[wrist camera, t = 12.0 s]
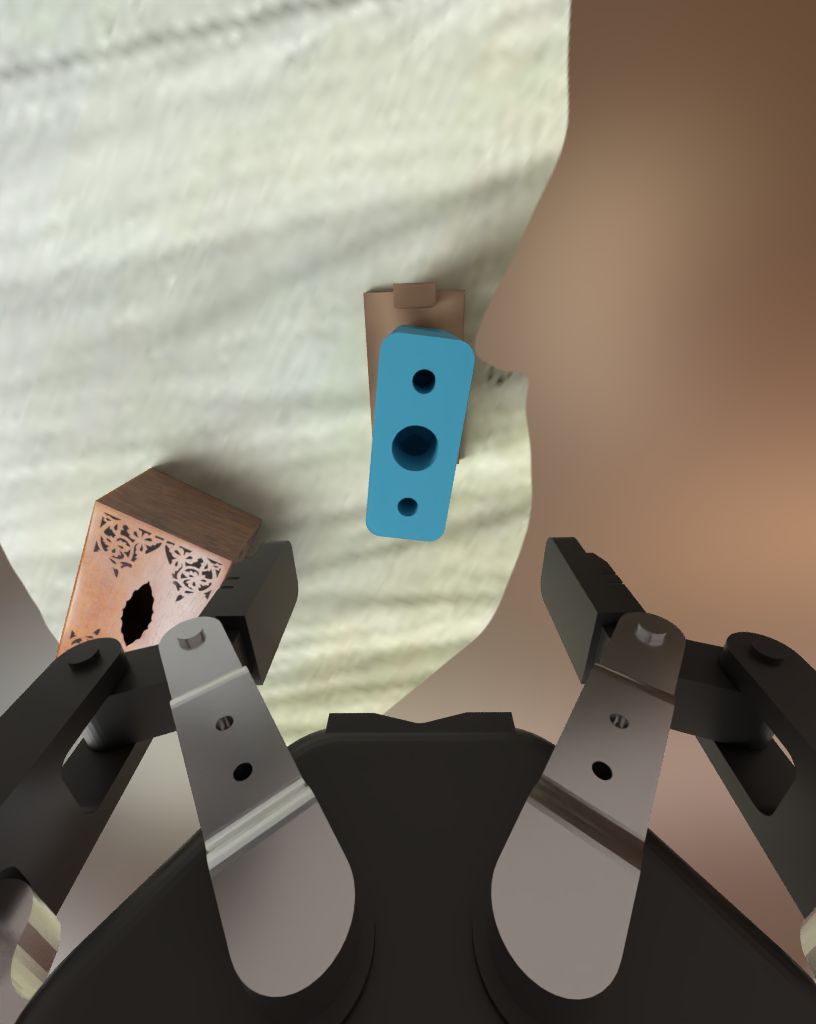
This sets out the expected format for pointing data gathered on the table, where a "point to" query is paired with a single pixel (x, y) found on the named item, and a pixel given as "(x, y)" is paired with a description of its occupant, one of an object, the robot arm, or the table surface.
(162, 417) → the table surface
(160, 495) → the tissue box cover
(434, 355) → the block
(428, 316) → the peg stand
